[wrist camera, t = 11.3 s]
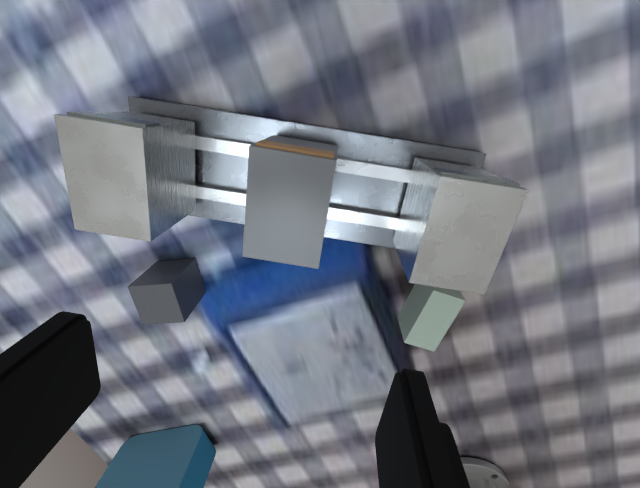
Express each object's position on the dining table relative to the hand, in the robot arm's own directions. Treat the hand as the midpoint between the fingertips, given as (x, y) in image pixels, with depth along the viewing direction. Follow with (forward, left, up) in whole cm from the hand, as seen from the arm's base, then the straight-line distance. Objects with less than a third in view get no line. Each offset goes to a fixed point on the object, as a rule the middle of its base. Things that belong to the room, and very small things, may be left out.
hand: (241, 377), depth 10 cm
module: (+1, -2, -18) cm, 18 cm away
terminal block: (-13, +8, -21) cm, 26 cm away
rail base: (+1, -2, -21) cm, 21 cm away
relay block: (+12, +10, -21) cm, 26 cm away
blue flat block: (+14, +36, -21) cm, 44 cm away
